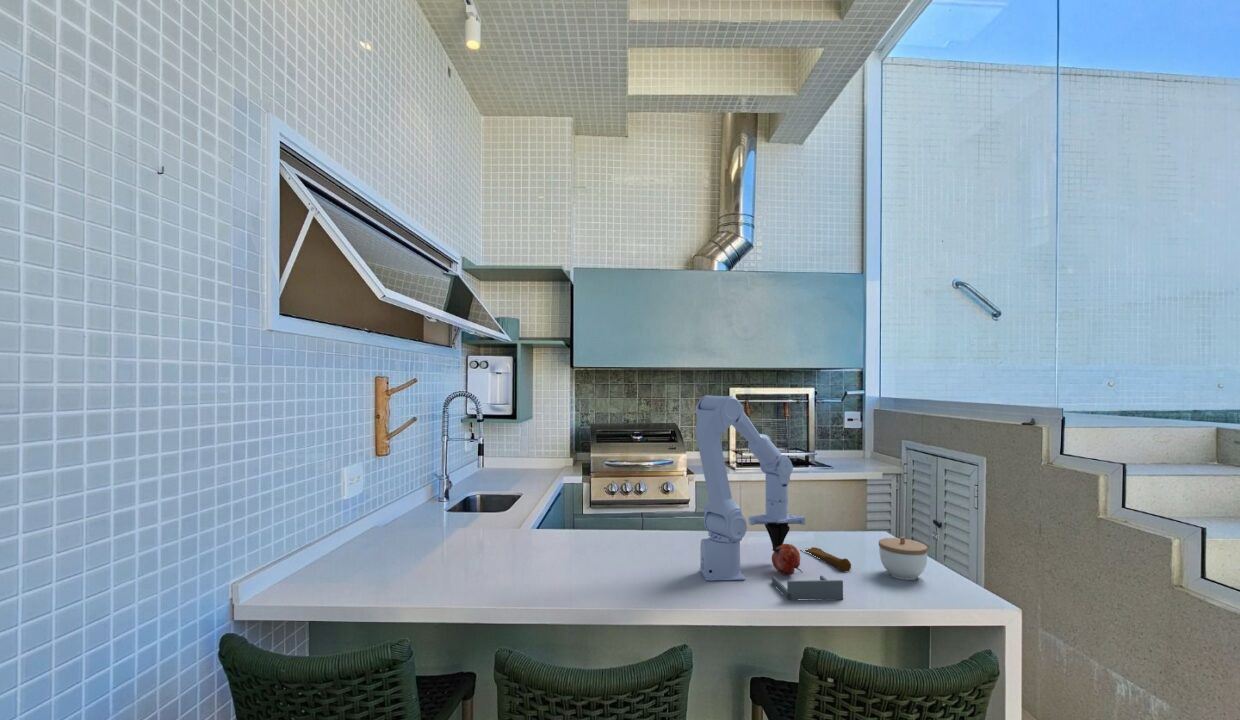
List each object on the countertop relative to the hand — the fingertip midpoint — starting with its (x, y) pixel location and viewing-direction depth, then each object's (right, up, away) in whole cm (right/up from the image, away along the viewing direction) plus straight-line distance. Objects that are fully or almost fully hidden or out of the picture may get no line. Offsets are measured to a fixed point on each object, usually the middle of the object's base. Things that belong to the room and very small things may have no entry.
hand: (777, 552), depth 144 cm
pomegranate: (0, -3, -8) cm, 8 cm away
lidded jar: (+29, -3, -9) cm, 30 cm away
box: (+1, -2, -19) cm, 19 cm away
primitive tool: (+14, -4, +3) cm, 14 cm away
